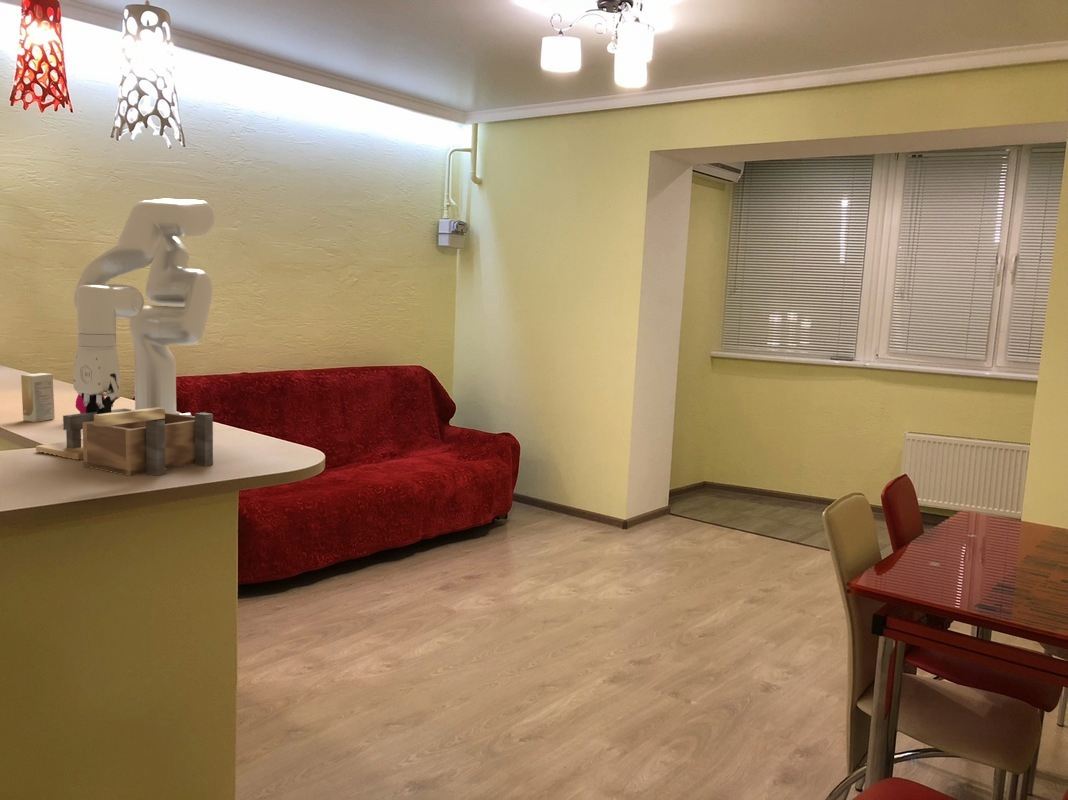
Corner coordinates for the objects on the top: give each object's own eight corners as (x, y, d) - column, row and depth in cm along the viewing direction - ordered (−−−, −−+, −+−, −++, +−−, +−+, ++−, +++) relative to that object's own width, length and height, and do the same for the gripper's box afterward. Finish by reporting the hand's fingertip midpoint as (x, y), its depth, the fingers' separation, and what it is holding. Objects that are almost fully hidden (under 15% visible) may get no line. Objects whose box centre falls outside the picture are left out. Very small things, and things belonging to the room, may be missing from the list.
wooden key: (158, 417, 170) (157, 407, 170) (165, 418, 169) (164, 408, 169) (93, 425, 157) (93, 414, 157) (101, 426, 157) (100, 415, 156)
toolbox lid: (117, 439, 203) (117, 404, 202) (166, 447, 195) (165, 412, 194) (35, 451, 185) (34, 414, 184) (85, 461, 177) (84, 422, 176)
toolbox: (166, 452, 191) (165, 404, 190) (223, 462, 183) (223, 412, 182) (83, 466, 173) (82, 413, 172) (143, 478, 165) (143, 423, 164)
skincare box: (43, 417, 229) (42, 372, 227) (55, 419, 227) (54, 373, 226) (21, 420, 223) (20, 374, 222) (33, 422, 221) (31, 375, 220)
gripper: (57, 340, 188) (59, 422, 190) (106, 344, 181) (108, 430, 183) (88, 339, 195) (90, 418, 197) (137, 343, 187) (138, 426, 190)
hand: (98, 423), depth 190 cm, fingers open, 3 cm apart
